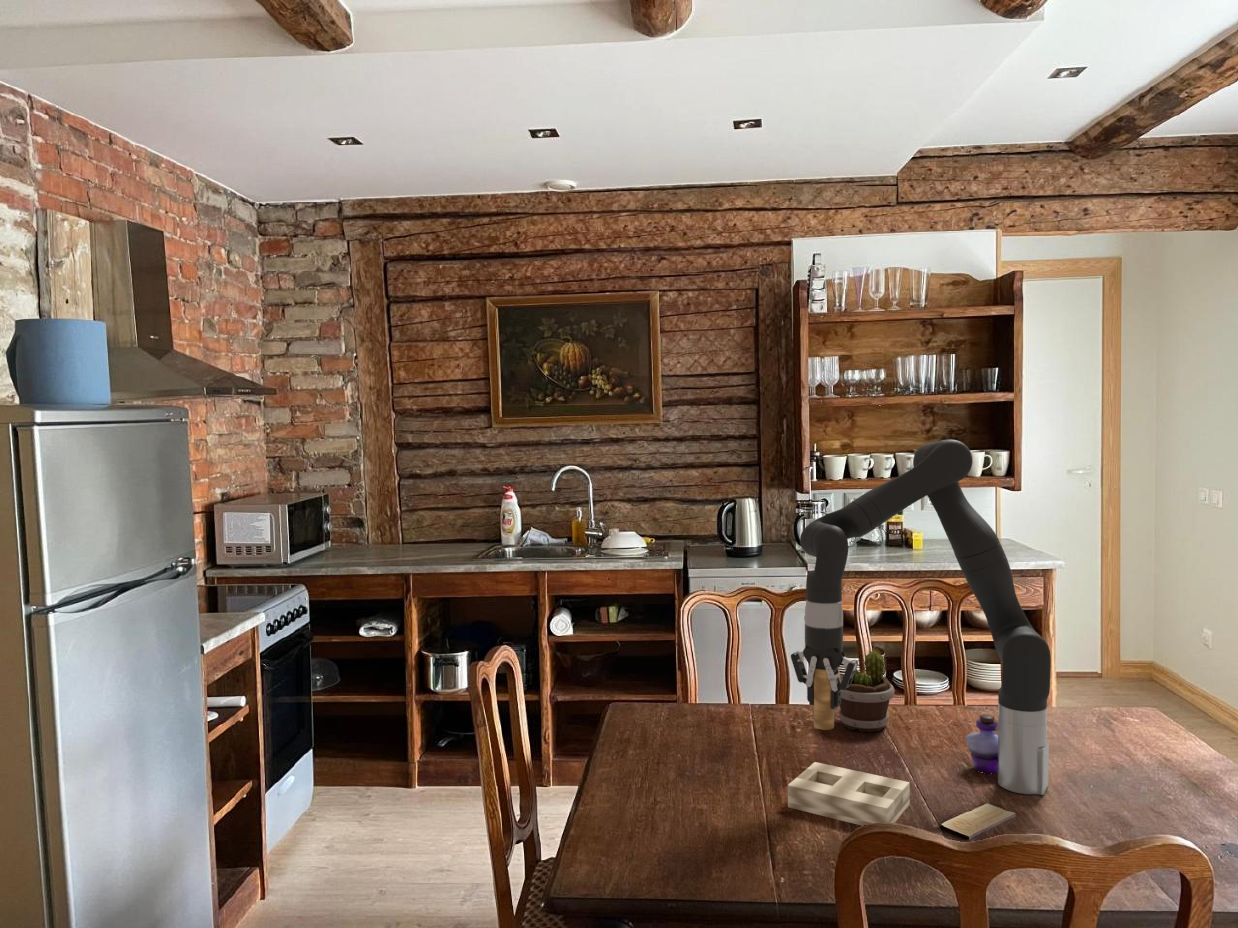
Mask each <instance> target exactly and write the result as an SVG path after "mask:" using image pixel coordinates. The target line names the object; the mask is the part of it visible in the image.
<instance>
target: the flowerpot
mask: <svg viewBox="0 0 1238 928" xmlns="http://www.w3.org/2000/svg"><path fill="white" fill-rule="evenodd" d="M863 658H864V659H862V662H863V663H862V666H863V669H859V670H858V668H856V671H855V674H854V676H853V679H852V682H851V685H850V686H849V687H848V688H846V689H845V690H841V704H840V705H839V706H838V707H839V709H840V710H839V711H838V718H839V720H840V722H842V724H843V726H844V727H845V728H848V729H849V730H858V731H859V732H863V733H864V732H867V733H874V732H879V731H882V729H884V727H885V726H886V725H887V724H888V722H889V719H890V716H889V714H888V713H889V712H887V711H888V710H889V706H890V705H889V704H890V700H891V699H893V698H894V696H895V691H896V689H895V688H894V685H892V683H891V682H890V681H889V680H888V679H887V677H886V673H887V672H888V671H887V664H886V662H887V659H886V656H885V655H882V654H881V651H880V650H879V648H878V647H877V648H876V644H875V646H874V647H872V648H870V647H869V651H868V653H867V654H864V657H863ZM844 671H846V670H845V669H844ZM843 677H844V674H842V675H841V674H840V680H841V682H842V680H843Z"/></svg>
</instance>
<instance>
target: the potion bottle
mask: <svg viewBox="0 0 1238 928" xmlns="http://www.w3.org/2000/svg"><path fill="white" fill-rule="evenodd" d="M975 723H976V724H975V725H976V726H975V727H976V728H977V729H979V732H970V733H969V734H968V735H966V736H965V740H966V744H967V748H968V751H969V752H970V756H971V760H972V761H971V762H972V765H973V770H974V769H976V770H977V771H979V772H983V773H981V774H983V775H986V776H989V774H991V773H992V774H994V775H995V776H996V775H998V734H996V733H995V732H996V731H998V721H996V720H995V716H994V715H992V714H986V713H984V714H980V715H979V719H977V720H975ZM979 772H977V773H979ZM984 773H985V774H984ZM979 774H980V773H979ZM992 774H991V775H990V776H992Z"/></svg>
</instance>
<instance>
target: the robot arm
mask: <svg viewBox="0 0 1238 928" xmlns="http://www.w3.org/2000/svg"><path fill="white" fill-rule="evenodd" d="M912 466H913V467H912V468H910V469H909V470H907V471H906V472H904V473H902V474H899V476H897V477H894V478H892V479H891V480H888V481H886V482H884V483H882V484H880V485H878V486H876V487H873V488H871V489H870V490H868V491H867V492H864V494H862V495H860V496H859V497H857V498H855V499H854V500H852V501H850V502H849V503H848V504H846V505H845V506H843V507H842V508H840V509H838V510H834V511H832V512H829V513H828V514H825V515H823V516H821V517H817V519H815V520H813V521H812V522H810V523H809V524H807V525H806V526H805V527H804V529H802V532H801V533H800V537H799V544H800V547H801V549H802V550H803V551H804V552H805V553H806V554H808V555H809V556H811V557H815V563H814V564H815V565H814V570H810V571H809V572H808V574H807V575H806V579H805V580H806V581H805V607H804V617H803V618H804V619H803V620H804V649H803V650H802V651H795V652H793V653H791V654H790V659H791V662H792V666H793V669H794V672H795V675H796V678H797V679H796V680H797V682H799V683H800V684H802V683H803V684H804V685H806V699H807V702H808V703H809V706H814V673H815V669H816V668H817V669H823V670H826V672H827V676H828V679H829V680H830V684H831V688H832V691H831V709H834V710H836V709H838V707H840V706H839V705H840V704H841V690H845V689H846V688H848V687H849V686H850V685H851V682H852V679H853V676H854V674H855V671H856V669H858V664H859V662H858V660H856V659H850V658H848V657H846V655H845V653H844V649H843V648H844V610H843V609H844V608H843V602H842V601H843V597H842V594H843V591H842V589H843V585H842V579H843V576H844V574H845V570H846V565H847V561H848V556H849V539H852V538H853V539H854V538H862V537H864V536H866V535H867V534H869V533H870V532H872V531H874V530H875V529H877V528H878V527H879V526H881V525H883V524H884V523H886V522H887V521H888V520H890V519H891V518H893V517H895V516H896V515H898V514H899V513H901V512H902V511H903V510H905V509H907V508H908V507H910V506H912V505H913V504H915V503H916V502H918V501H919V500H921V499H923V498H925V497H927V498H928V500H929V501H930V503H931V505H932V506H933V508H934V510H935V512H936V515H937V517H938V518H939V521H940V524H941V525H942V528H943V530H944V532H945V534H946V536H947V539H948V542H949V543H950V545H951V548H952V550H953V553H954V556H955V558H956V561H957V563H958V566H959V568H960V570H961V572H962V573H963V576H964V578H965V580H966V582H967V584H968V586H969V588H970V590H971V591H972V593H973V595H974V597H975V598H976V600H977V602H978V603H979V605H980V607H981V608H982V611H983V613H984V614H983V615H984V616H985V618H986V621H987V625H988V628H989V631H990V633H991V638H992V640H993V644H994V648H995V652H996V655H997V656H998V657H999V659H1000V661H1001V671H1002V672H1001V685H1000V688H999V690H998V695H997V696H998V697H997V700H998V701H997V704H998V705H997V707H998V708H997V710H998V712H997V718H998V719H997V723H998V729H997V735H998V774H997V783H998V785H999V786H1000V787H1002V789H1005V790H1007V791H1010V792H1013V793H1015V794H1016V793H1018V794H1024V795H1040V796H1043V795H1045V793H1046V790H1047V788H1048V787H1049V752H1050V751H1049V744H1050V742H1049V740H1048V738H1047V734H1048V733H1047V730H1048V729H1047V726H1048V725H1047V724H1048V723H1047V722H1048V720H1047V718H1048V715H1047V714H1048V713H1047V712H1048V708H1047V707H1048V699H1049V696H1050V691H1051V675H1052V674H1051V673H1052V672H1051V671H1052V658H1051V657H1052V656H1051V655H1052V654H1051V649H1050V647H1049V644H1048V642H1047V641H1046V640H1045V639H1044V638H1043V637H1042V636H1041V635H1040V634H1038V632H1036V630H1035V629H1034V627H1033V625H1032V624H1031V623H1030V621H1029V619H1028V618H1027V616H1026V614H1025V612H1024V609H1023V608H1022V607H1021V604H1020V601H1019V600H1018V597H1017V593H1016V588H1015V584H1014V578H1013V574H1012V569H1011V565H1010V563H1009V559H1008V558H1007V555H1006V553H1005V551H1004V549H1003V546H1002V544H1001V541H1000V539H999V537H998V535H997V534H996V532H995V531H994V529H993V528H992V526H991V525H990V524H988V522H987V521H986V520H985V519H984V518H983V517H982V516H981V515H980V514H979V512H977V510H976V509H975V508H974V507H973V506H972V505H971V503H970V502H969V500H967V497H966V496H965V494H964V492H963V490H962V488H961V485H960V481H963V480H964V479H965V478H966V477H967V476H968V475H969V473H970V472H971V470H972V466H973V455H972V452H971V450H970V448H969V447H968V446H967V445H966V444H965V443H964V442H961V441H959V440H956V439H943V440H942V439H941V440H937V441H933V442H929V443H926V444H923V445H921V446H919V447H918V448H917V449H916V451H915V453H914V455H913V459H912ZM804 661H807V664H808V665H809V666H808V667H809V668H808V671H807V669H806V666H805V663H804ZM842 664H843V668H844V669H845V670H844V674H843V675H844V677H843V680H842V682H841V680H840V676H841V673H840V669H839V667H840V666H841V665H842ZM833 672H834V673H833Z"/></svg>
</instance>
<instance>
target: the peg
mask: <svg viewBox="0 0 1238 928" xmlns="http://www.w3.org/2000/svg"><path fill="white" fill-rule="evenodd" d="M833 673H834V672H833ZM831 691H832V688H831V684H830V680H829V679H828V676H827V672H826V670H823V669H817V668H816V669H815V673H814V705H813V727H814V728H815V729H818V730H823V731H826V730H827V731H828V730H829V731H831V730H832V729H834V728H835V709H831Z"/></svg>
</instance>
